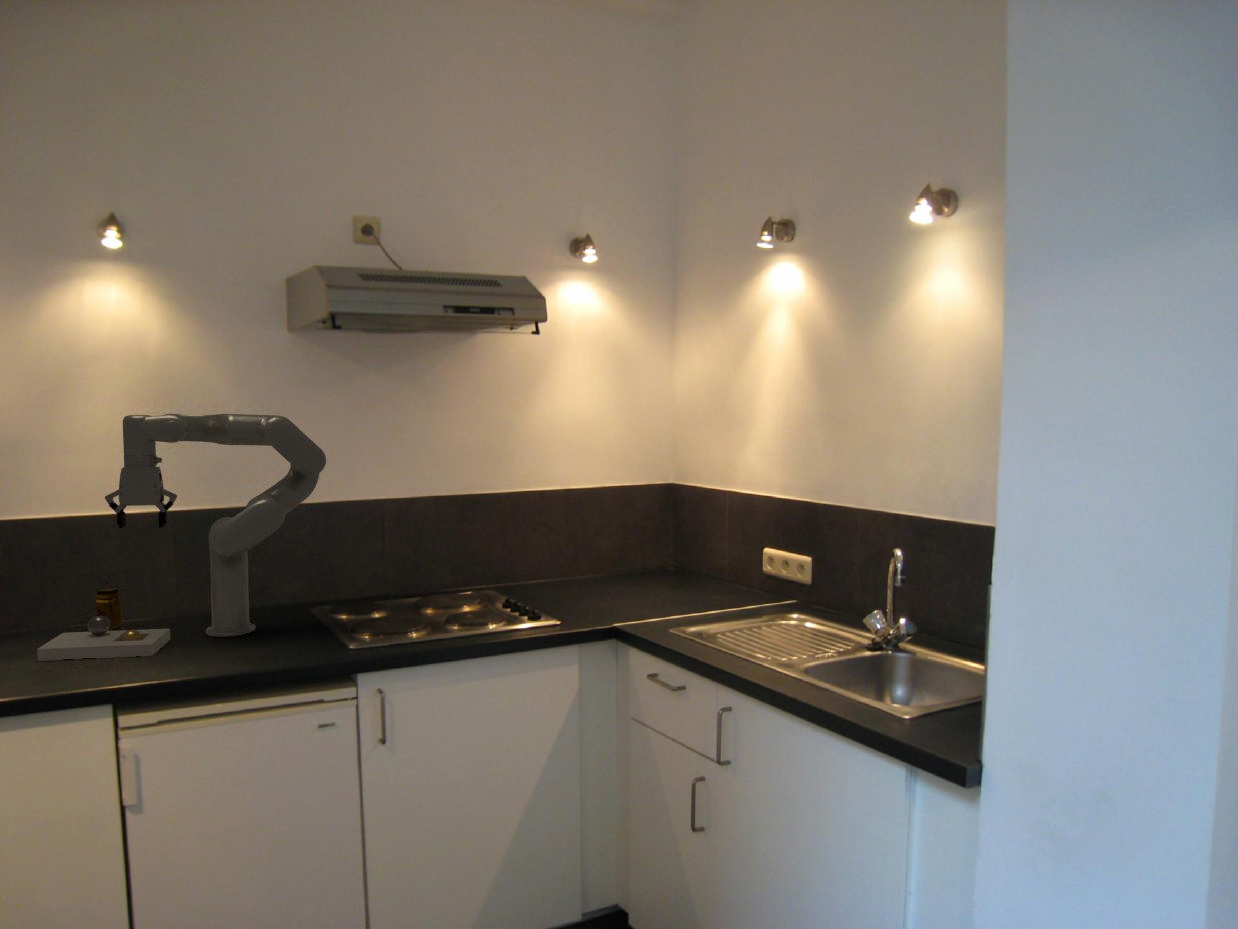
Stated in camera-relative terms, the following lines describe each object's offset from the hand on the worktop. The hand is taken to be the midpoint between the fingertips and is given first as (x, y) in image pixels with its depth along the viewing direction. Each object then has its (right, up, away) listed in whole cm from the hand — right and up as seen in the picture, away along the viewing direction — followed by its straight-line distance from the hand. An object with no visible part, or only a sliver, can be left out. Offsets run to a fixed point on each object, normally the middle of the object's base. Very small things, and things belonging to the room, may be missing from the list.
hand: (142, 527), depth 246 cm
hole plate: (-5, -31, -7) cm, 32 cm away
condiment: (-14, -30, +12) cm, 35 cm away
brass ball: (0, -28, -6) cm, 29 cm away
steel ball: (-9, -25, -4) cm, 27 cm away
